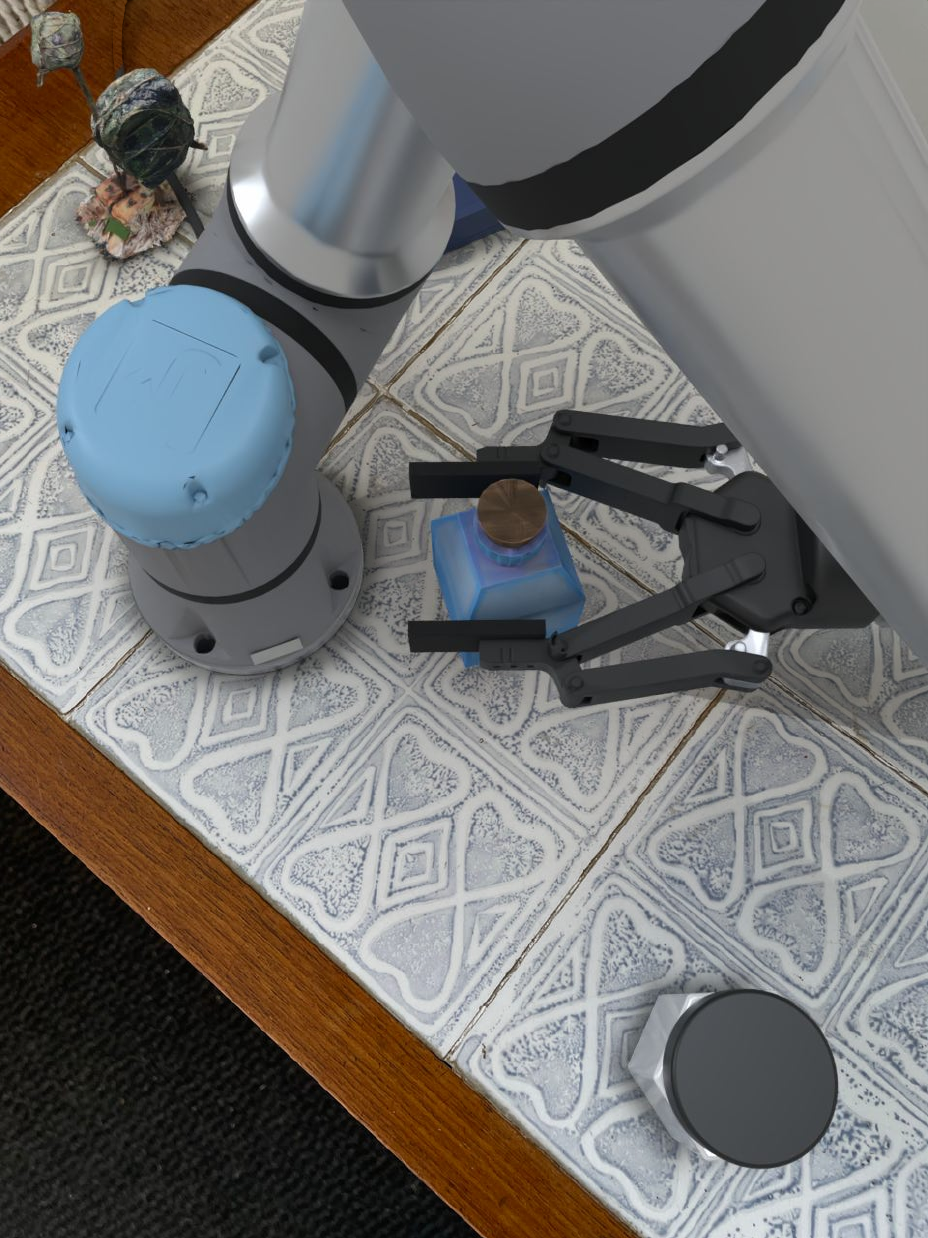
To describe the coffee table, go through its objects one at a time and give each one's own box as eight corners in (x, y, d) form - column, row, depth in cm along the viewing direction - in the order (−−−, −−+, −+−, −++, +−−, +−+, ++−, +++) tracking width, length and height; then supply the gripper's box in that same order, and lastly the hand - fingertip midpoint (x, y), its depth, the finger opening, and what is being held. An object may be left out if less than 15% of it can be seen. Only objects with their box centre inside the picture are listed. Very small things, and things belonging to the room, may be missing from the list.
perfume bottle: (539, 536, 63) (556, 433, 51) (574, 637, 61) (599, 554, 50) (433, 565, 62) (426, 468, 51) (464, 668, 60) (465, 591, 49)
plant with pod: (241, 220, 84) (177, -6, 65) (98, 276, 82) (-9, 61, 63) (200, 141, 86) (128, -100, 67) (61, 194, 85) (-54, -37, 66)
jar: (739, 1175, 63) (800, 1213, 52) (608, 1103, 65) (640, 1125, 53) (798, 1025, 66) (869, 1031, 55) (671, 958, 67) (714, 950, 56)
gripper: (871, 772, 56) (411, 777, 56) (824, 407, 62) (413, 410, 62) (931, 739, 49) (404, 744, 48) (871, 330, 55) (407, 334, 55)
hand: (410, 557), depth 55 cm, fingers closed on perfume bottle, 8 cm apart
